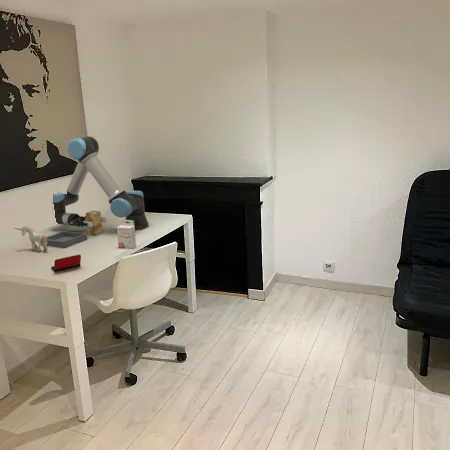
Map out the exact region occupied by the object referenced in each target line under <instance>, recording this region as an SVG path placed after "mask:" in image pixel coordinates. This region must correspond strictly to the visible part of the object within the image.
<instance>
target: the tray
mask: <svg viewBox="0 0 450 450" xmlns="http://www.w3.org/2000/svg"><path fill="white" fill-rule="evenodd" d="M87 240H88V233H82V232H75V231H68V230H67V231H66V230H63V231H60V232H58V233H53V234H51V235H48V236H47V247H54V248H59V249H67V248H69V247H72V246H73V245H77V244H79V243H82V242H84V241H87ZM42 243H43V242H42V241H41V246H43V245H42Z"/></svg>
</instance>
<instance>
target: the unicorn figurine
mask: <svg viewBox="0 0 450 450" xmlns="http://www.w3.org/2000/svg"><path fill="white" fill-rule="evenodd" d="M13 229H14V230H18V231H21V236H22V237H23V236H25V235H26V233H28V234H29V235H28V238H29V241H30V243H31V251H35V250H37V253H39V252H40V251H41V247H43V252H46V251H48V249H49V246H47V237H48V236H47V235H46V234H44V233H37V232H36V231H35V230H34V229H33V228H32V227H30V226H29V225H27V226H22V227H21V228H19V227H18V228H17V227H13ZM41 241H42V242H43V243H42V245H41ZM36 242H37V243H36Z"/></svg>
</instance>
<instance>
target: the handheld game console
mask: <svg viewBox="0 0 450 450" xmlns="http://www.w3.org/2000/svg"><path fill="white" fill-rule="evenodd" d="M81 261H82V254H74V255H71V256H66V257H61V258H56V259H55V260H54V265H53V266H51V267H50V269H51V270H52V271H53V272H54V273H58V272H63V271H66V270H71V269H76V268H80V267H81V265H82V264H81Z"/></svg>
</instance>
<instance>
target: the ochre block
mask: <svg viewBox="0 0 450 450" xmlns="http://www.w3.org/2000/svg"><path fill="white" fill-rule="evenodd" d="M101 215H102V214H101V211H100V210H90V211H87V212H85V216H86V220H85V221H87V222H93V227H88V226H86V229H87V237H89V236H91V237H98V236H101V235H103V224H102V223H103V222H101V217H102V216H101Z"/></svg>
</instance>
